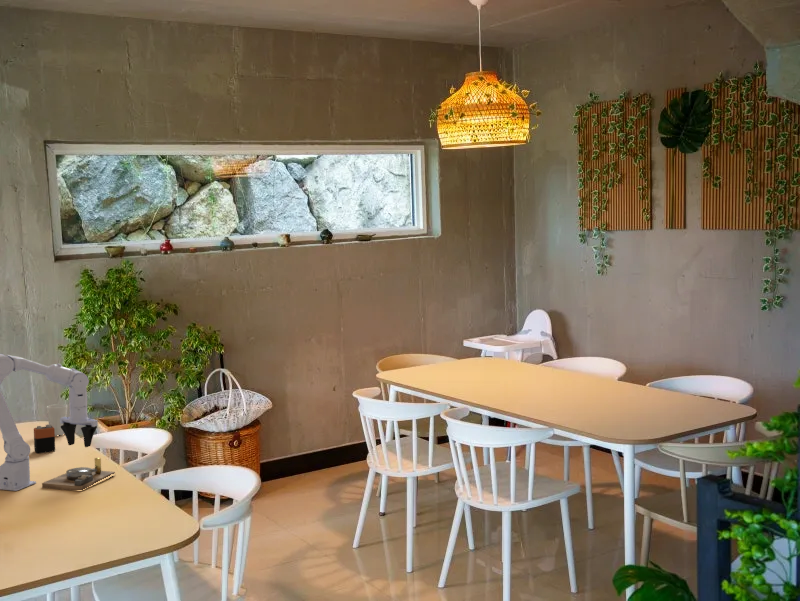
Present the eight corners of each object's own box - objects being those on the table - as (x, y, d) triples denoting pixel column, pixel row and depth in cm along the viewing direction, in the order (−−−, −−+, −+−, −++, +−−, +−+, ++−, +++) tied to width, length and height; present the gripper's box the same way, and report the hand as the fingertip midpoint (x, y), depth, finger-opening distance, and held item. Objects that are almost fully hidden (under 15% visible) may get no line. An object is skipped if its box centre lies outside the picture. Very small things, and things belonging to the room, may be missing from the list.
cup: (61, 437, 349) (60, 408, 348) (43, 436, 351) (42, 407, 350) (72, 432, 357) (71, 404, 356) (55, 432, 359) (54, 403, 358)
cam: (72, 481, 281) (71, 466, 281) (62, 476, 287) (62, 461, 287) (106, 474, 289) (105, 459, 289) (95, 469, 295) (95, 455, 295)
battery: (55, 451, 327) (54, 425, 327) (36, 453, 324) (35, 427, 323) (53, 448, 331) (52, 423, 330) (34, 451, 327) (33, 425, 326)
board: (81, 491, 276) (80, 478, 276) (42, 487, 281) (41, 474, 280) (115, 476, 294) (114, 464, 293) (77, 472, 298) (77, 460, 298)
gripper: (103, 405, 294) (104, 444, 295) (70, 402, 299) (71, 441, 300) (88, 409, 287) (90, 449, 288) (55, 406, 293) (56, 445, 294)
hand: (79, 445), depth 294 cm, fingers open, 6 cm apart
